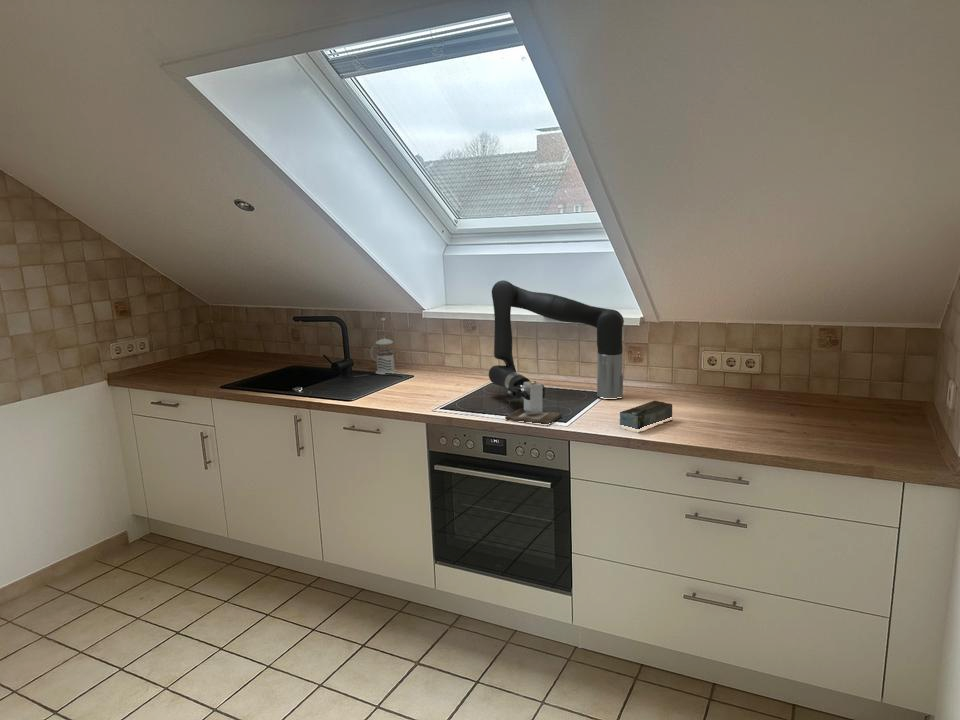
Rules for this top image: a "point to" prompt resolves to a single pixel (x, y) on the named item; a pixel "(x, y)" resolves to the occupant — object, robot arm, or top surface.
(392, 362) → the french press
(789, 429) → the top surface
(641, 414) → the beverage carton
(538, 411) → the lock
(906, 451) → the top surface
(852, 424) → the top surface
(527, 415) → the mount plate
